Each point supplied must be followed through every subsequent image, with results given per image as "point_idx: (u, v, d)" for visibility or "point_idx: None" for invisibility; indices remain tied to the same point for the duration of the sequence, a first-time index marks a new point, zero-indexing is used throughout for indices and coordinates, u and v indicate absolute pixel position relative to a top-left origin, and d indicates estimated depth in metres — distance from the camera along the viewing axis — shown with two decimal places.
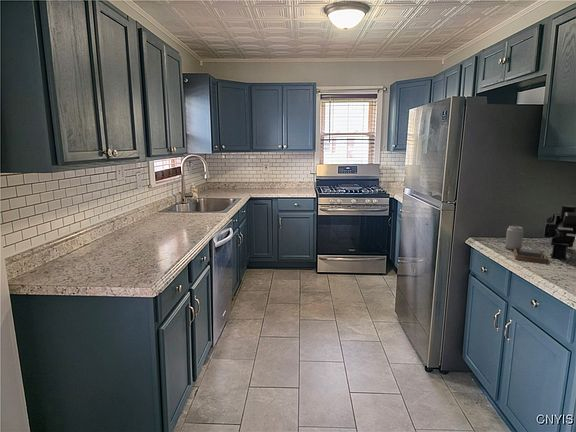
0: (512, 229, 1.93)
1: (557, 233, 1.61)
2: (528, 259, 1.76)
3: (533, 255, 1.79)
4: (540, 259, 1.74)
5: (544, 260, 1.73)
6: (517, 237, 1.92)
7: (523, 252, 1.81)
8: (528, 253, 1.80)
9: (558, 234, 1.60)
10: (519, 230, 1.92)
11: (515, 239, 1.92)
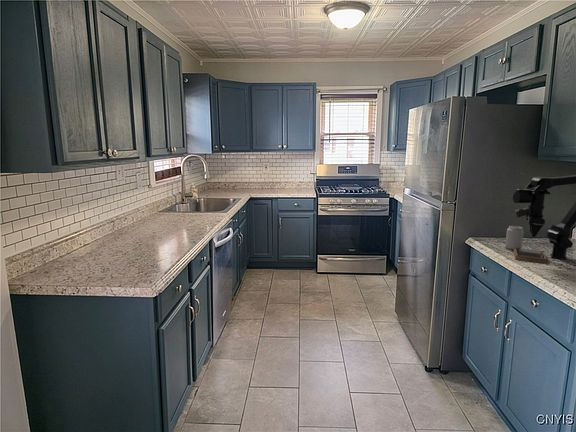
0: (512, 229, 1.93)
1: None
2: (528, 259, 1.76)
3: (532, 255, 1.79)
4: (540, 259, 1.74)
5: (544, 260, 1.73)
6: (517, 237, 1.92)
7: (523, 252, 1.81)
8: (528, 253, 1.80)
9: None
10: (519, 230, 1.92)
11: (515, 239, 1.92)
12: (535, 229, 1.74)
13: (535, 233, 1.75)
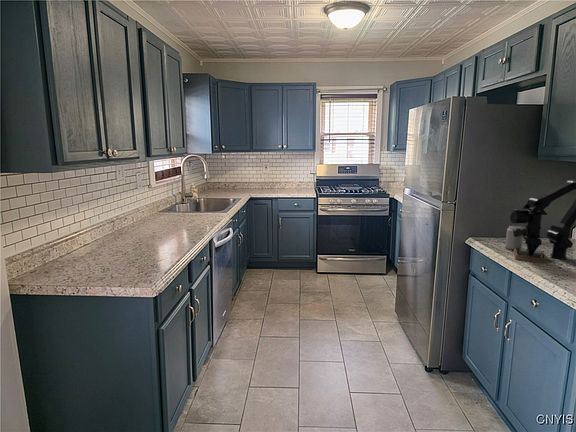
0: None
1: None
2: (528, 259, 1.76)
3: None
4: (540, 259, 1.74)
5: (544, 260, 1.73)
6: (517, 237, 1.92)
7: (522, 251, 1.81)
8: (527, 252, 1.80)
9: None
10: None
11: (515, 239, 1.92)
12: (532, 248, 1.78)
13: (532, 252, 1.78)
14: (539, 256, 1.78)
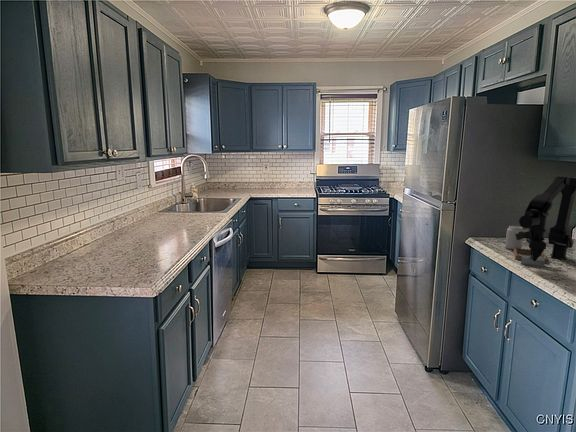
0: (512, 229, 1.93)
1: None
2: None
3: (535, 262, 1.69)
4: None
5: None
6: None
7: (525, 259, 1.71)
8: (530, 260, 1.70)
9: None
10: (519, 230, 1.92)
11: (515, 239, 1.92)
12: (536, 253, 1.65)
13: (536, 257, 1.66)
14: (543, 264, 1.67)
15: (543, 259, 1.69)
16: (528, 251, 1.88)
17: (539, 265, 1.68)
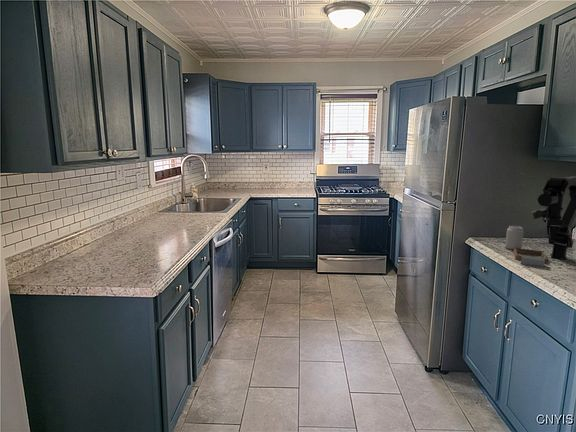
0: (512, 229, 1.93)
1: None
2: None
3: (535, 262, 1.69)
4: None
5: None
6: (517, 237, 1.92)
7: (525, 259, 1.71)
8: (530, 260, 1.70)
9: None
10: (519, 230, 1.92)
11: (515, 239, 1.92)
12: (553, 231, 1.68)
13: (553, 235, 1.69)
14: (542, 264, 1.67)
15: (543, 259, 1.69)
16: (528, 251, 1.88)
17: (539, 265, 1.68)
